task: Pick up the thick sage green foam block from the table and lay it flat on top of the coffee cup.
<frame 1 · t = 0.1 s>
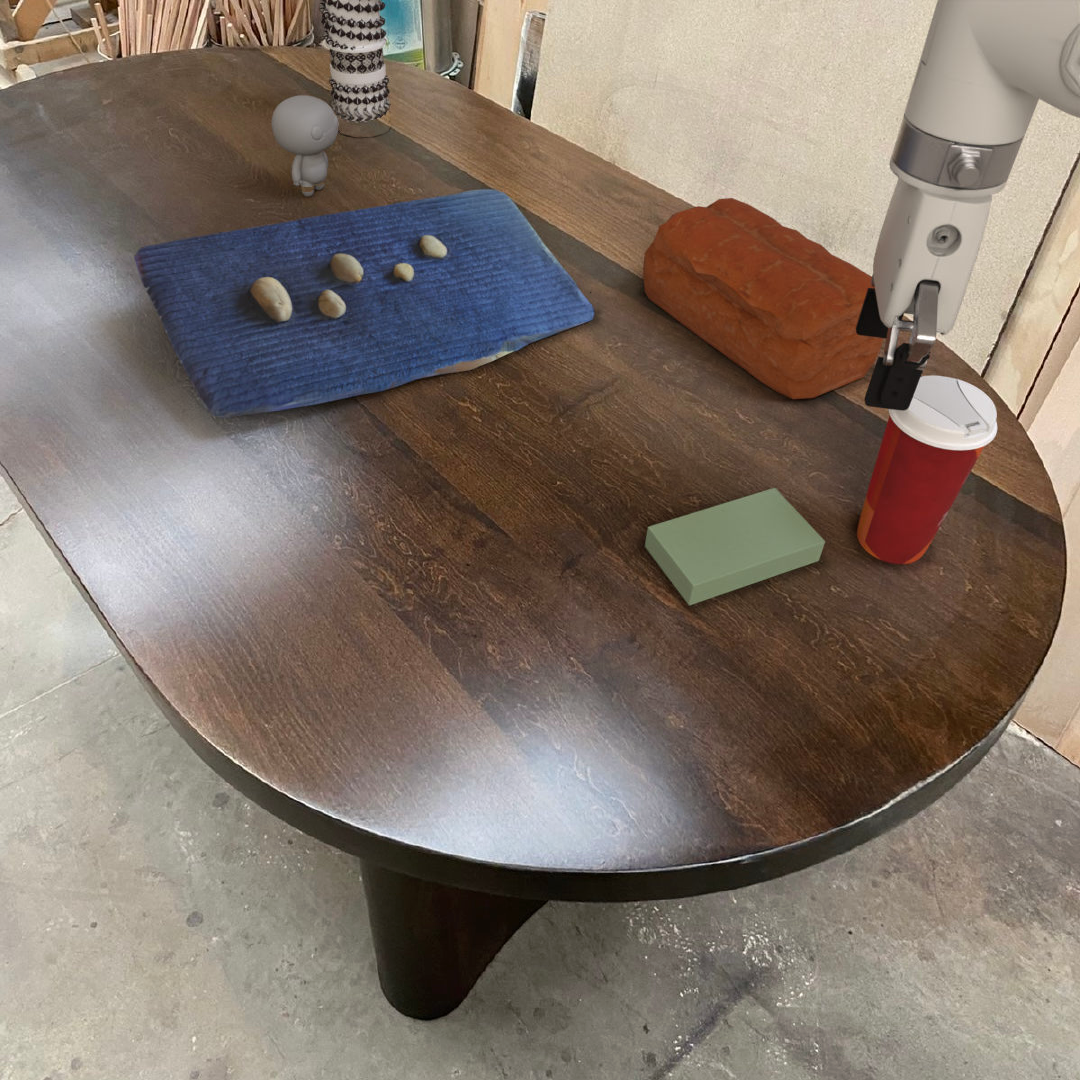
hand: (879, 369, 75), 16 cm above the table, tool pointing down, fingers open, 9 cm apart
mat 2: (374, 319, 107), on the table
bread: (752, 330, 108), on the table
figurine: (314, 194, 128), on the table
decorative candle: (363, 128, 144), on the table
sage green foam block: (731, 553, 83), on the table
coffee cup: (889, 541, 85), on the table
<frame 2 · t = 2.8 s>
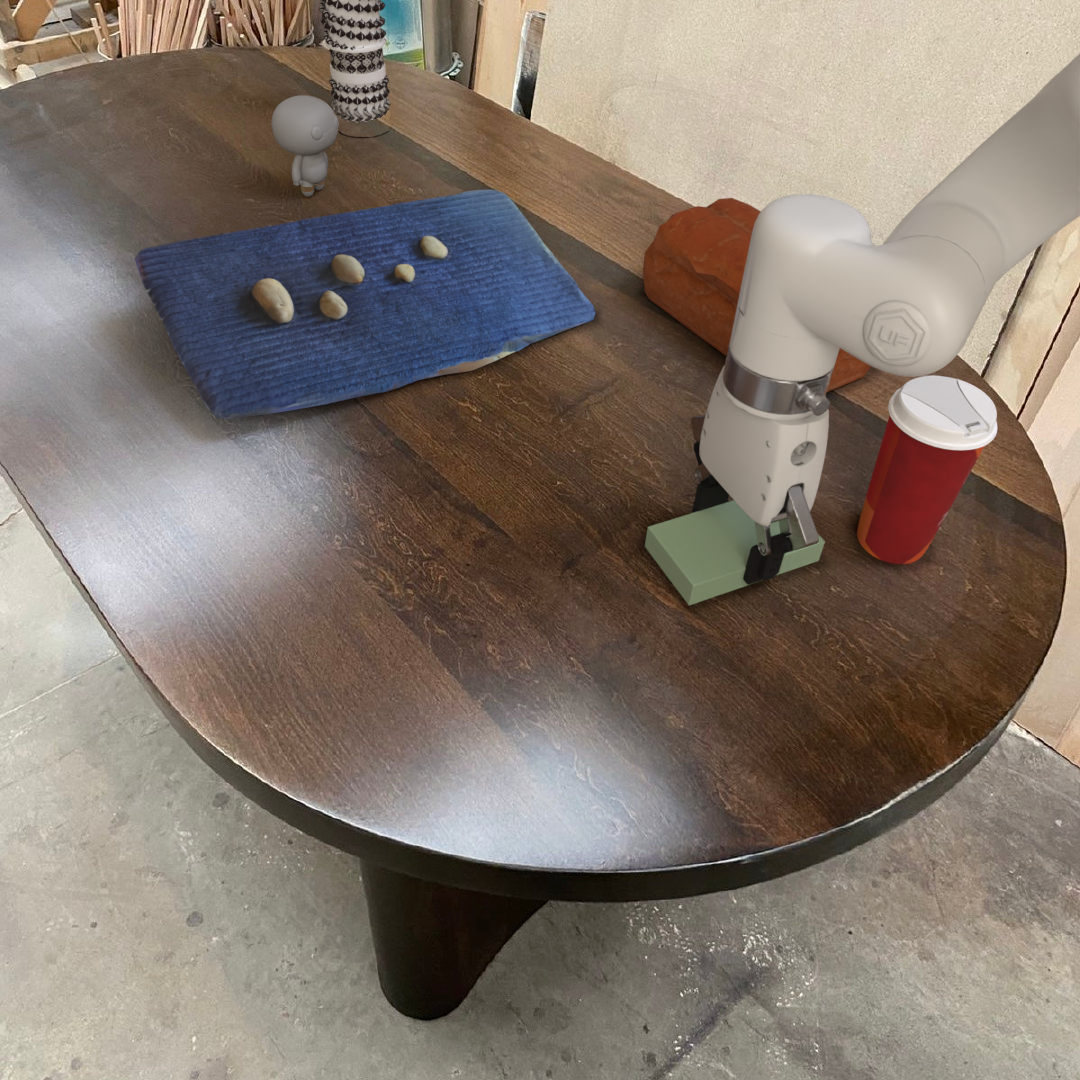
hand: (733, 544, 82), 1 cm above the table, tool pointing down, fingers closed on sage green foam block, 7 cm apart
sage green foam block: (731, 553, 83), on the table, touching gripper
everything else where it was.
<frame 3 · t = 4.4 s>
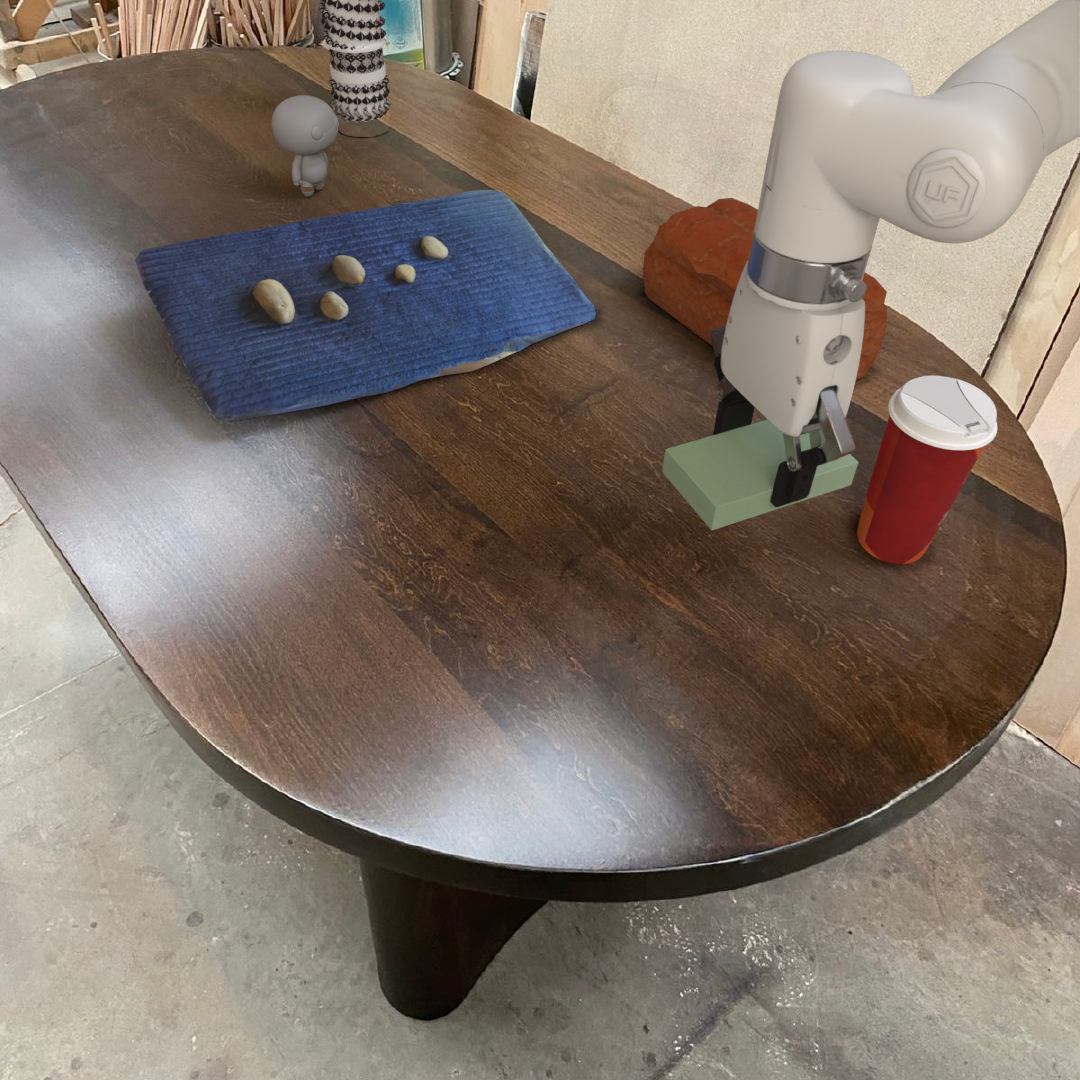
hand: (758, 467, 75), 10 cm above the table, tool pointing down, fingers closed on sage green foam block, 7 cm apart
sage green foam block: (756, 478, 76), point 9 cm above the table, touching gripper
everything else where it was.
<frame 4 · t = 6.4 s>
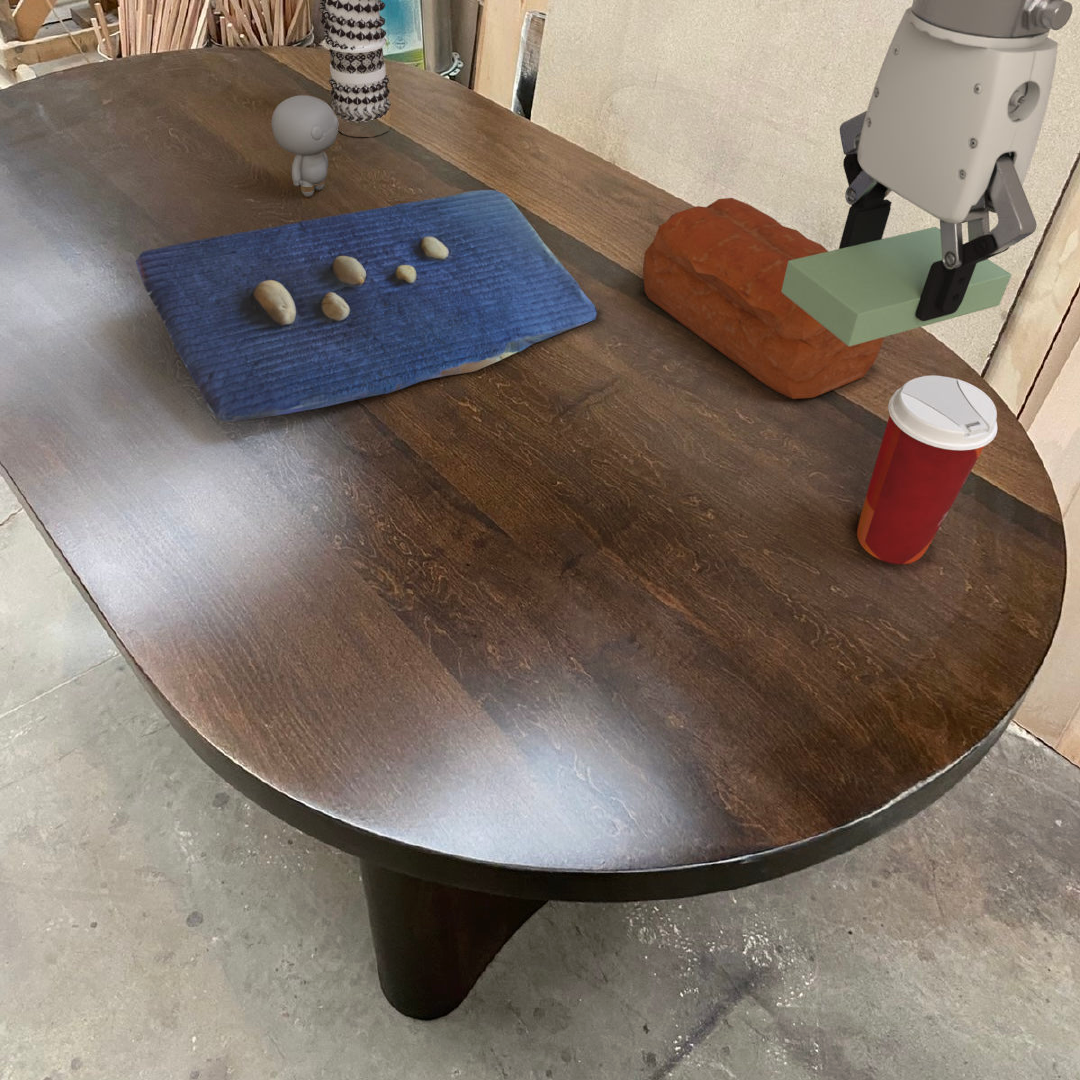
hand: (894, 284, 65), 26 cm above the table, tool pointing down, fingers closed on sage green foam block, 7 cm apart
sage green foam block: (889, 299, 66), point 24 cm above the table, touching gripper
everything else where it was.
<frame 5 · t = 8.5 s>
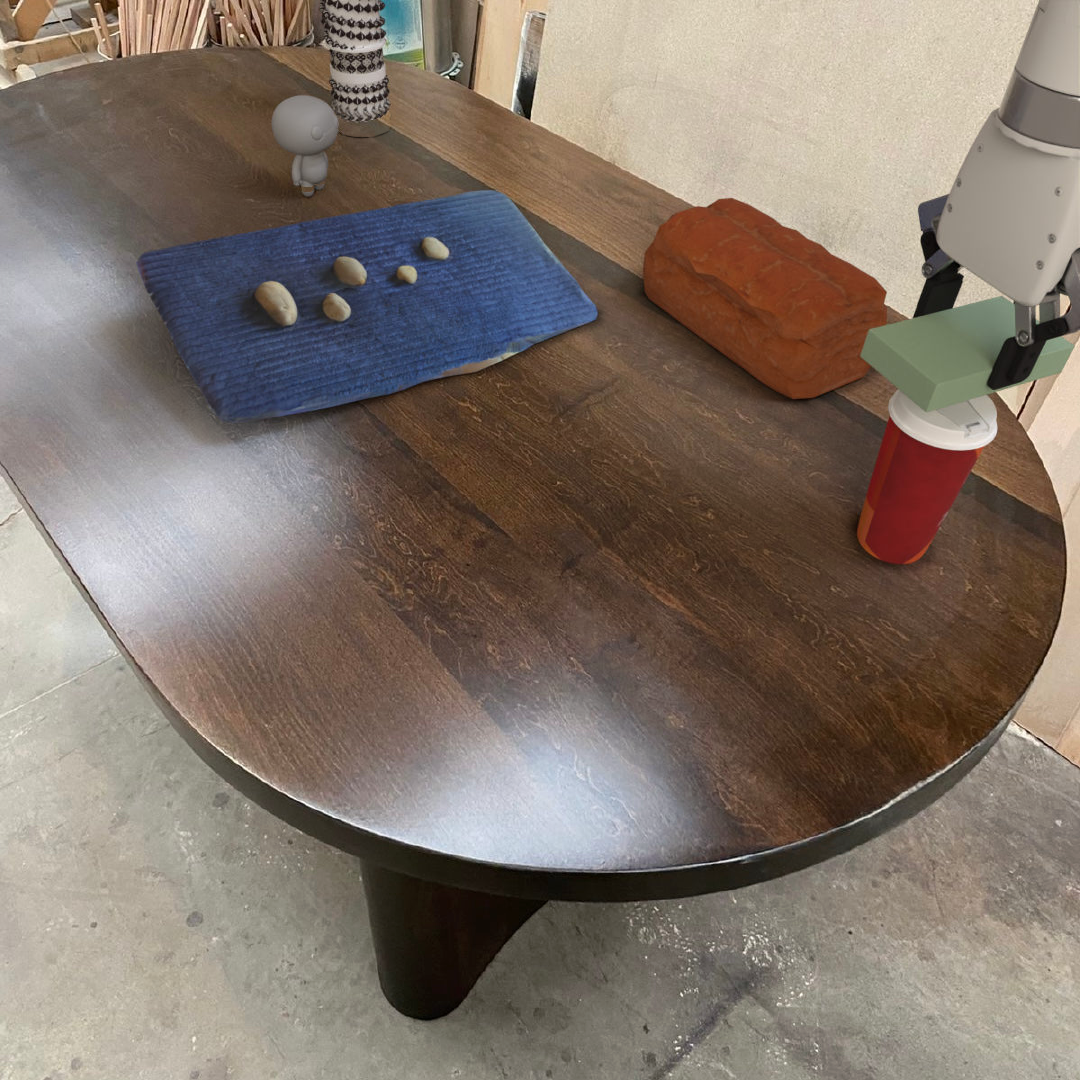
hand: (965, 352, 71), 19 cm above the table, tool pointing down, fingers closed on sage green foam block, 7 cm apart
sage green foam block: (960, 364, 72), point 18 cm above the table, touching gripper
everything else where it was.
when the fingers open (16 cm above the table, at t = 10.0 s): sage green foam block stays where it is, resting on coffee cup.
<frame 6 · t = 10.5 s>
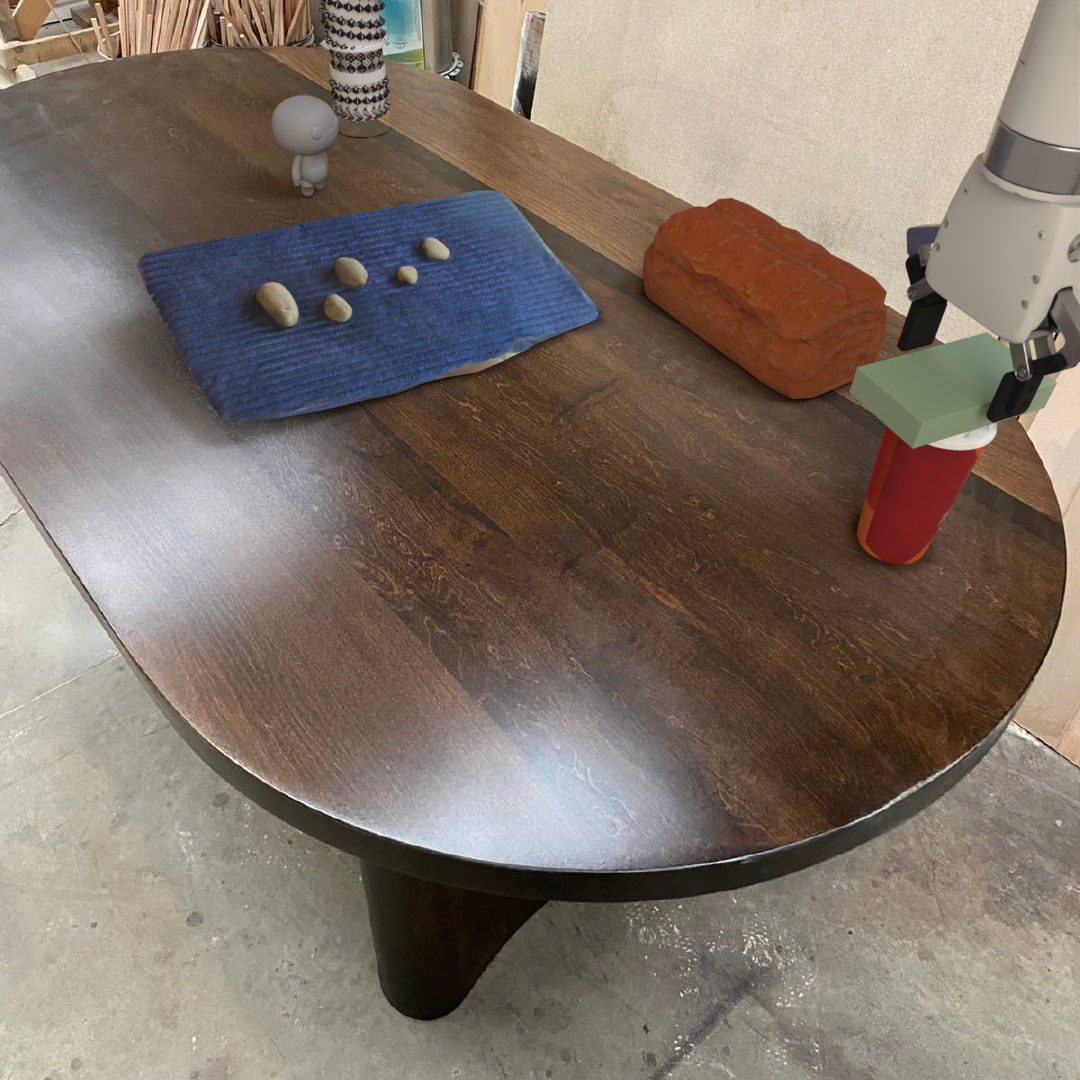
hand: (957, 379, 72), 17 cm above the table, tool pointing down, fingers open, 9 cm apart
sage green foam block: (946, 400, 74), point 15 cm above the table, touching coffee cup
coffee cup: (889, 541, 85), on the table, touching sage green foam block
everything else where it was.
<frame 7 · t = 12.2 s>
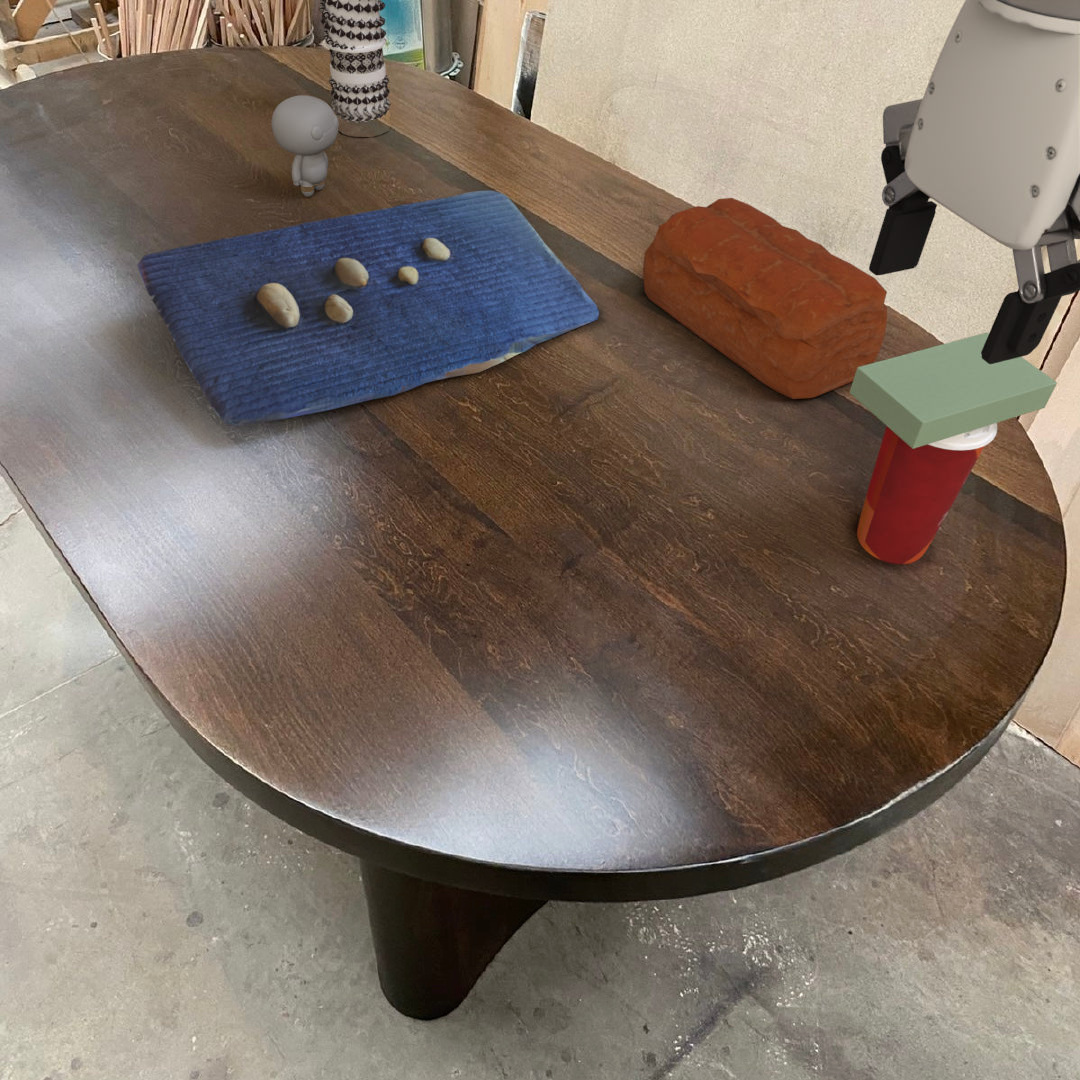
hand: (945, 310, 55), 30 cm above the table, tool pointing down, fingers open, 9 cm apart
nothing on the table moved.
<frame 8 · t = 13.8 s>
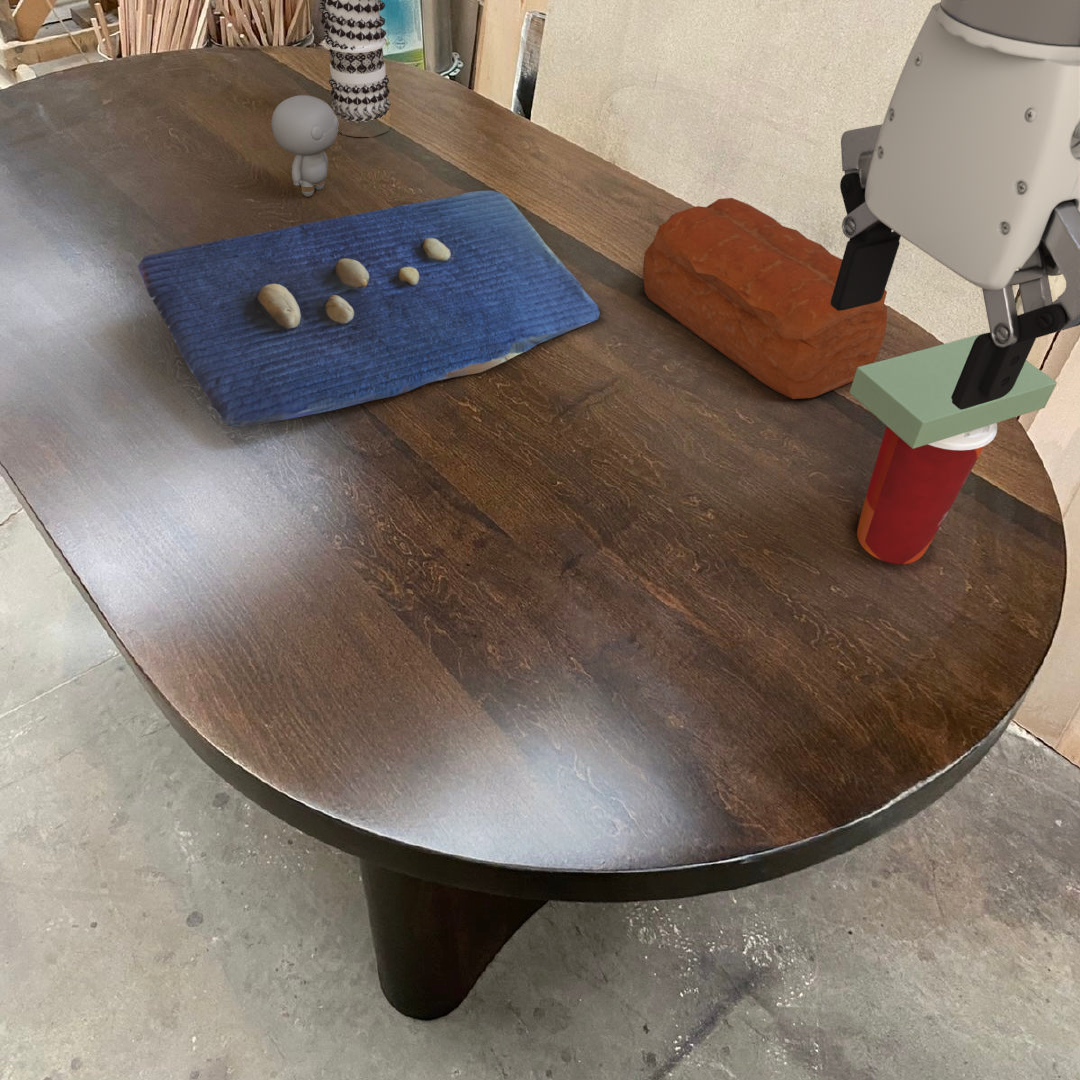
hand: (912, 349, 51), 30 cm above the table, tool pointing down, fingers open, 9 cm apart
at the end: sage green foam block 0.1 cm off-centre on the coffee cup, point 15.2 cm above the coffee cup's base; sage green foam block tilted 0°; coffee cup tilted 0° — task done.
